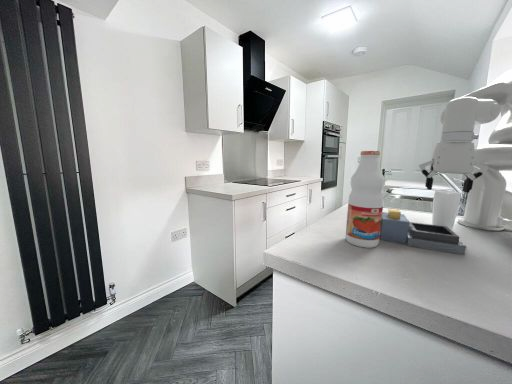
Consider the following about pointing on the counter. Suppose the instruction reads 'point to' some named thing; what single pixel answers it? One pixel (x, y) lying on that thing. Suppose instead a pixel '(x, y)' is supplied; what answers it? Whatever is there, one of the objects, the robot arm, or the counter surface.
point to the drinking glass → (445, 208)
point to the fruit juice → (365, 202)
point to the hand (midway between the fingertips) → (446, 190)
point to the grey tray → (419, 234)
